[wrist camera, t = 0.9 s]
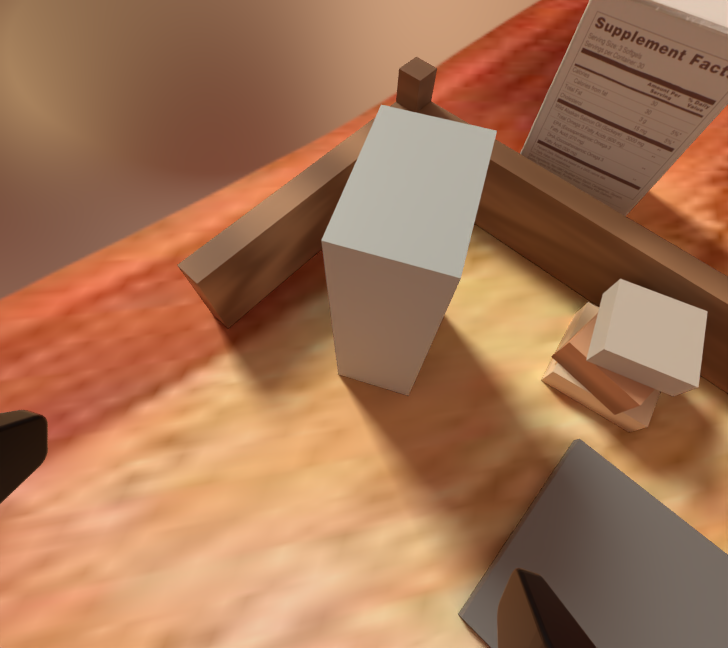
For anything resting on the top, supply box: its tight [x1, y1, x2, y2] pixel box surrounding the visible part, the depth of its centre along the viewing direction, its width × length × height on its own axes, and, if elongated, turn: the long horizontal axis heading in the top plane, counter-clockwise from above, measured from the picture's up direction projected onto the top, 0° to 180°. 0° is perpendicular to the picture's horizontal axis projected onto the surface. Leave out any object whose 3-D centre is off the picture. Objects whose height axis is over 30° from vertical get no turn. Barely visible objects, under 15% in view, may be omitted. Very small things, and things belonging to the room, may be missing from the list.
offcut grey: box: [586, 279, 708, 396], centre depth 19 cm, size 4×4×2 cm
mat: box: [458, 439, 728, 648], centre depth 18 cm, size 10×10×1 cm
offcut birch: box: [541, 302, 661, 432], centre depth 22 cm, size 5×5×2 cm
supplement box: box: [520, 0, 728, 216], centre depth 23 cm, size 7×7×13 cm
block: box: [321, 105, 497, 396], centre depth 18 cm, size 6×4×12 cm, turn 163°
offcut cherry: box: [551, 313, 655, 415], centre depth 20 cm, size 5×4×2 cm
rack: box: [178, 57, 728, 393], centre depth 20 cm, size 18×26×7 cm
